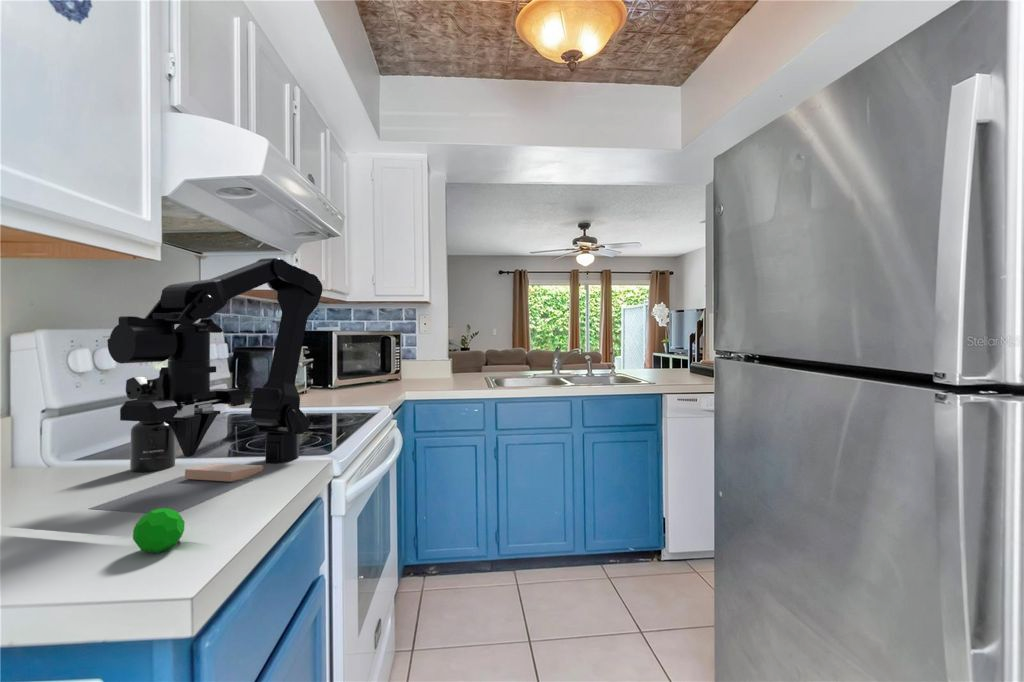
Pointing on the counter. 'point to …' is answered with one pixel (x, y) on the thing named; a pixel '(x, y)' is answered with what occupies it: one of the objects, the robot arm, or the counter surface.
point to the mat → (171, 495)
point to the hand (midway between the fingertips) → (189, 456)
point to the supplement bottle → (152, 447)
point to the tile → (222, 472)
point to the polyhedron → (158, 530)
